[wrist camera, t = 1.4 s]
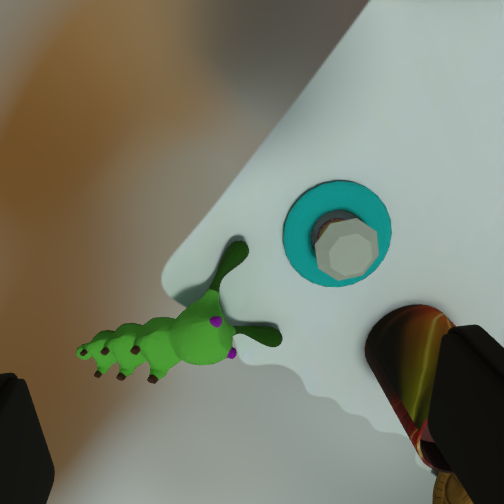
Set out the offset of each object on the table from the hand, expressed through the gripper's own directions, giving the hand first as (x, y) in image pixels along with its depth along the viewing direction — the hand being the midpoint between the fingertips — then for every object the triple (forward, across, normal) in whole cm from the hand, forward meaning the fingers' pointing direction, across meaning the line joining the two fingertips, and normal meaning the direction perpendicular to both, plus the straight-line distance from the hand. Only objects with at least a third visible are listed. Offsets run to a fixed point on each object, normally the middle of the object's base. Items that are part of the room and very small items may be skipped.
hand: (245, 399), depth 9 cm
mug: (+28, -22, +21) cm, 41 cm away
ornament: (+25, -15, +5) cm, 30 cm away
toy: (+22, +8, +16) cm, 28 cm away
